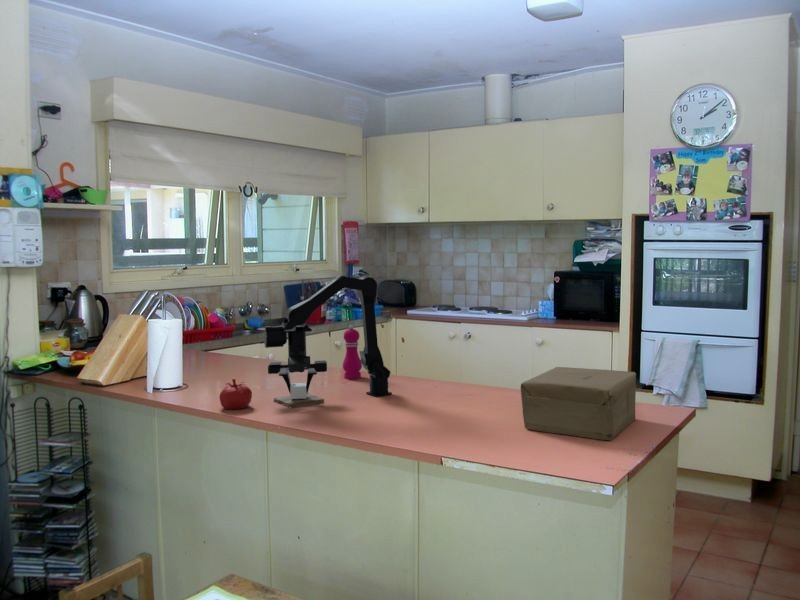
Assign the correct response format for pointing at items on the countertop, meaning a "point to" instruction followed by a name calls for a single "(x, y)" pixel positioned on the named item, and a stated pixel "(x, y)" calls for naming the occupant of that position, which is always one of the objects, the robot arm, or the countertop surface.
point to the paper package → (580, 402)
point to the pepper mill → (351, 354)
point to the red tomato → (235, 396)
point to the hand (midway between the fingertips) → (298, 393)
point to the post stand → (299, 400)
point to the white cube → (298, 391)
